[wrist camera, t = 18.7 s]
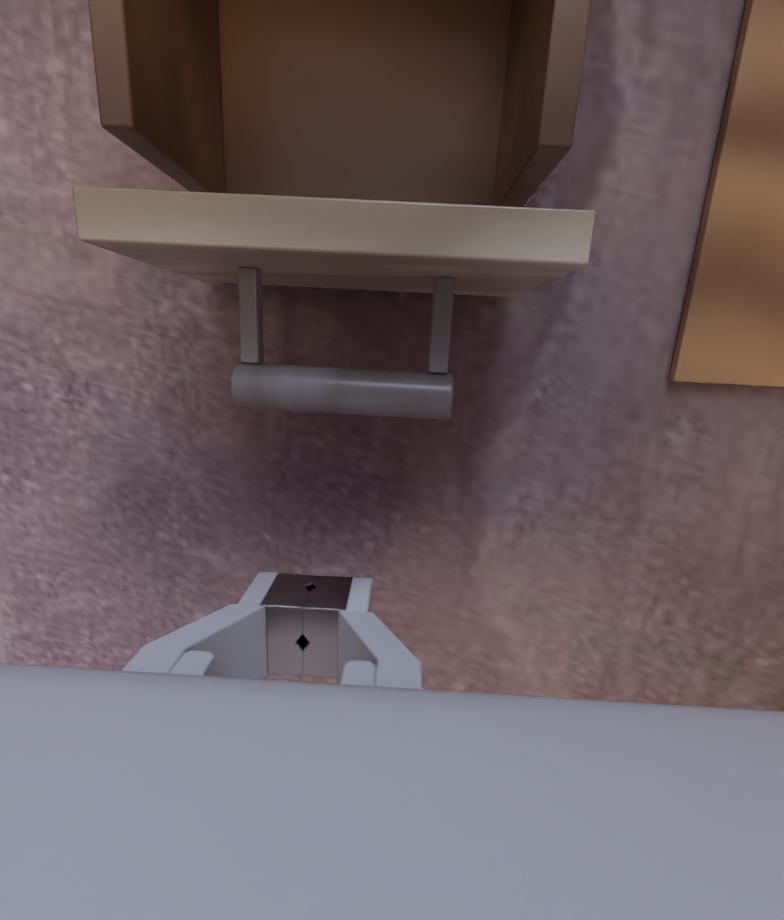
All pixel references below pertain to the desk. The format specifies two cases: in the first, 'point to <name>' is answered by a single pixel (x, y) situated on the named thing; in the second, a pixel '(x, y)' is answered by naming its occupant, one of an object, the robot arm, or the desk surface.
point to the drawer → (342, 162)
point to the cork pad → (742, 225)
